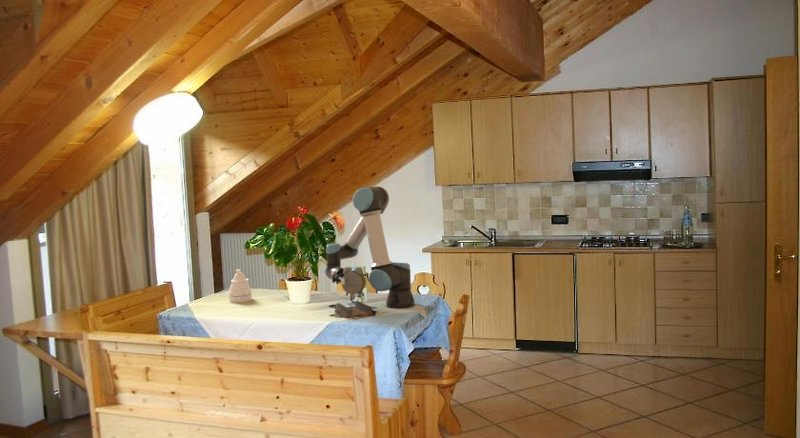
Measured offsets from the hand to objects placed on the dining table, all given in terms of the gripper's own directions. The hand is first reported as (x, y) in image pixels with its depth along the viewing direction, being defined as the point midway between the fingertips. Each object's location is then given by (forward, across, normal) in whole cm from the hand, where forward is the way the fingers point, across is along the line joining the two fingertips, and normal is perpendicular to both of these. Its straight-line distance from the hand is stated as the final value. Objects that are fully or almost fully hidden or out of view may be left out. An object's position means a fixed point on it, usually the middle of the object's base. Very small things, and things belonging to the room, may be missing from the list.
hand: (355, 280), depth 345 cm
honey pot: (-77, +42, -18) cm, 89 cm away
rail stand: (-4, 0, -18) cm, 18 cm away
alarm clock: (-2, 0, -9) cm, 9 cm away
